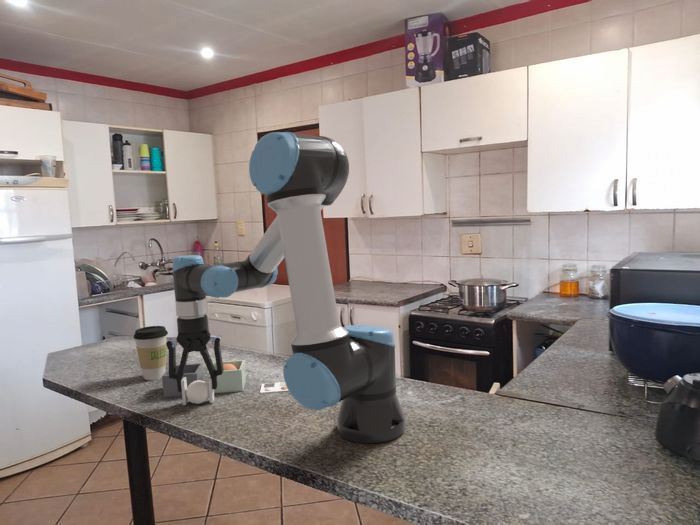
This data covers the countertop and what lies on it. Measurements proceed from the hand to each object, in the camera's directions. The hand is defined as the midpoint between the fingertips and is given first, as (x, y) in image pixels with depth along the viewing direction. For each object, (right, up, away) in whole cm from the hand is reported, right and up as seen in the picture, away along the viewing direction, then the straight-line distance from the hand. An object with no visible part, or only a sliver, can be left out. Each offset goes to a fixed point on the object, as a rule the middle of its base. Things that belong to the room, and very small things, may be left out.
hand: (198, 401), depth 133 cm
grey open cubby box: (-7, +1, +10) cm, 12 cm away
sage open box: (+5, +1, +11) cm, 12 cm away
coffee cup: (-20, +1, +23) cm, 31 cm away
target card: (+19, +2, +9) cm, 21 cm away
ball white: (0, +3, 0) cm, 3 cm away
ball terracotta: (+5, +5, +11) cm, 13 cm away
